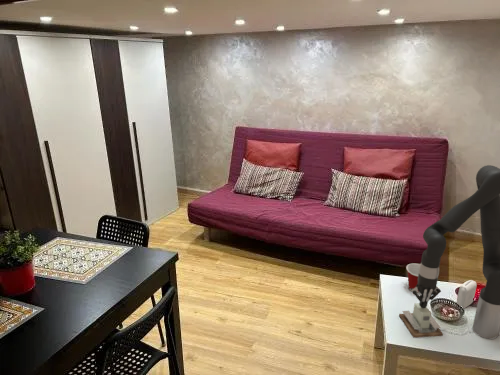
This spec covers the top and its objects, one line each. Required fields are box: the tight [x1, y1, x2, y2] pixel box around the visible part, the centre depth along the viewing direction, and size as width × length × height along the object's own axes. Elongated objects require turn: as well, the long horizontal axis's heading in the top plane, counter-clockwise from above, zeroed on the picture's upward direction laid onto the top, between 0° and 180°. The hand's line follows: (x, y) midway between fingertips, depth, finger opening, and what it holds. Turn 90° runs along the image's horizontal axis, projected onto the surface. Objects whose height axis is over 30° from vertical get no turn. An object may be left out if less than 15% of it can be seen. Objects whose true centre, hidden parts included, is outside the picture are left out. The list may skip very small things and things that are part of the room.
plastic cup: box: [405, 262, 421, 292], centre depth 188 cm, size 11×11×12 cm
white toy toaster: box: [455, 279, 478, 309], centre depth 175 cm, size 10×4×12 cm, turn 123°
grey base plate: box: [402, 310, 442, 333], centre depth 163 cm, size 12×12×2 cm
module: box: [412, 302, 432, 328], centre depth 162 cm, size 4×8×8 cm, turn 3°
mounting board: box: [398, 312, 444, 338], centre depth 164 cm, size 13×14×1 cm
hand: (422, 306), depth 160 cm, fingers closed
